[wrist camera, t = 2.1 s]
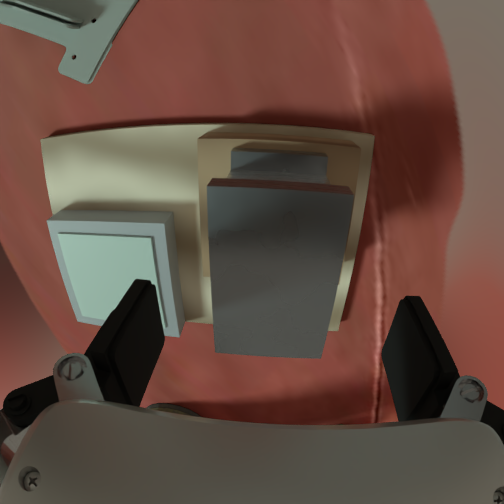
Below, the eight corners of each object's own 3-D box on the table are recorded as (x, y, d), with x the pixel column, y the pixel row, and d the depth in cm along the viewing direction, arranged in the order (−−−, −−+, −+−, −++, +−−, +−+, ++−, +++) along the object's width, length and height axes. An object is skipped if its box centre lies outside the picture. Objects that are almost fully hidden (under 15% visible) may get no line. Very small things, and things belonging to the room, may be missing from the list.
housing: (233, 147, 17) (206, 186, 11) (325, 153, 16) (354, 194, 10) (233, 272, 21) (215, 352, 14) (310, 276, 20) (320, 358, 14)
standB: (60, 210, 22) (45, 221, 20) (173, 211, 22) (163, 224, 20) (87, 308, 27) (76, 322, 25) (185, 321, 26) (179, 338, 25)
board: (47, 136, 20) (40, 139, 19) (370, 133, 19) (374, 136, 18) (83, 300, 28) (78, 306, 27) (336, 323, 27) (337, 330, 26)
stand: (206, 132, 19) (197, 138, 16) (351, 140, 18) (361, 148, 16) (210, 257, 23) (203, 276, 21) (333, 264, 23) (339, 284, 20)
